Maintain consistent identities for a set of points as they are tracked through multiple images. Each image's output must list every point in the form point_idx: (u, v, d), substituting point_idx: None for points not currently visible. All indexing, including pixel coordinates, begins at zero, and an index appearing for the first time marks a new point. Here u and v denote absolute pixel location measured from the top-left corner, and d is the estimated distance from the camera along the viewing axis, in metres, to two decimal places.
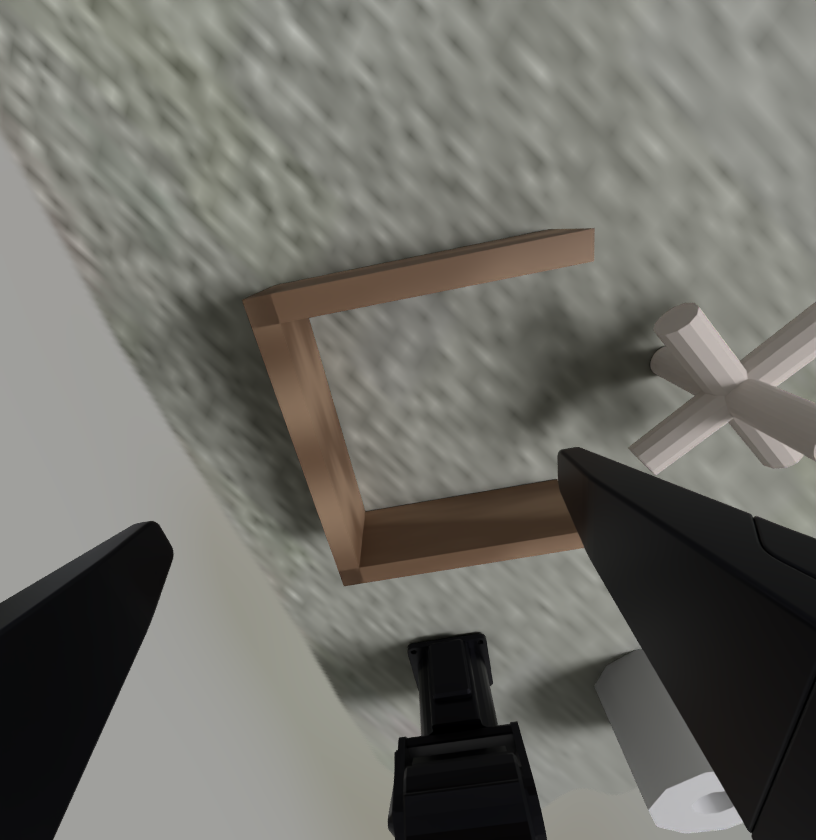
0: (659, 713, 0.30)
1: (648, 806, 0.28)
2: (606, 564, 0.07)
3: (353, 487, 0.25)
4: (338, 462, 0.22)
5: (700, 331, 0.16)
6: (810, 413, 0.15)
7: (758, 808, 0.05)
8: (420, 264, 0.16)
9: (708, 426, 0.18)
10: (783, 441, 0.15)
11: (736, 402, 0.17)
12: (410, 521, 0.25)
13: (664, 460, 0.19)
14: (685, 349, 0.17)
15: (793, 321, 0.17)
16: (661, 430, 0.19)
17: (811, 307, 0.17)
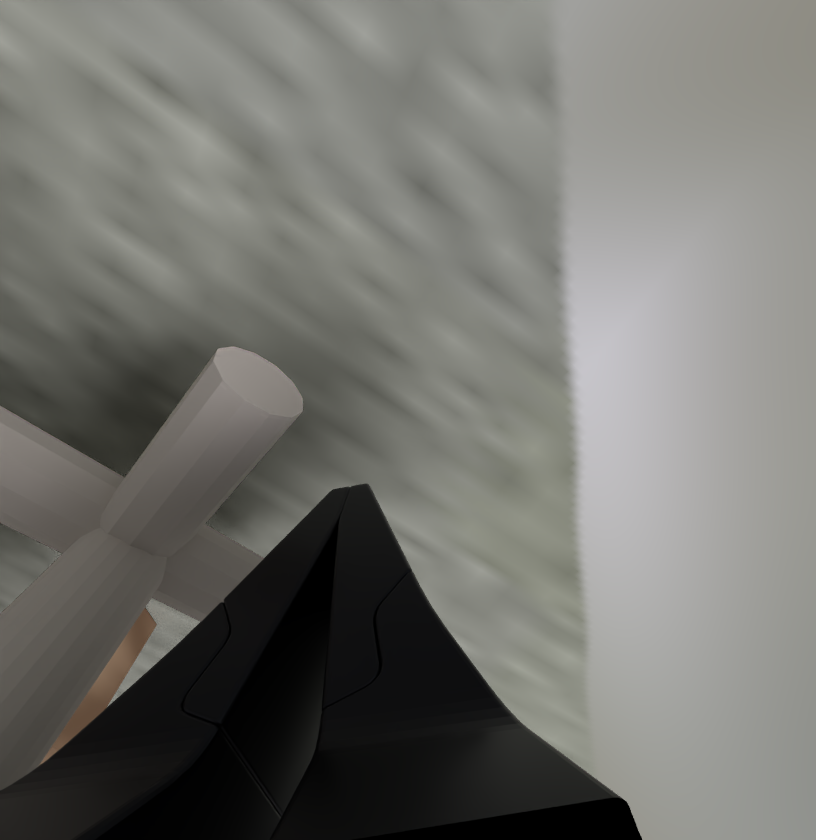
0: None
1: None
2: None
3: None
4: None
5: None
6: None
7: None
8: None
9: None
10: None
11: None
12: None
13: None
14: None
15: None
16: None
17: None
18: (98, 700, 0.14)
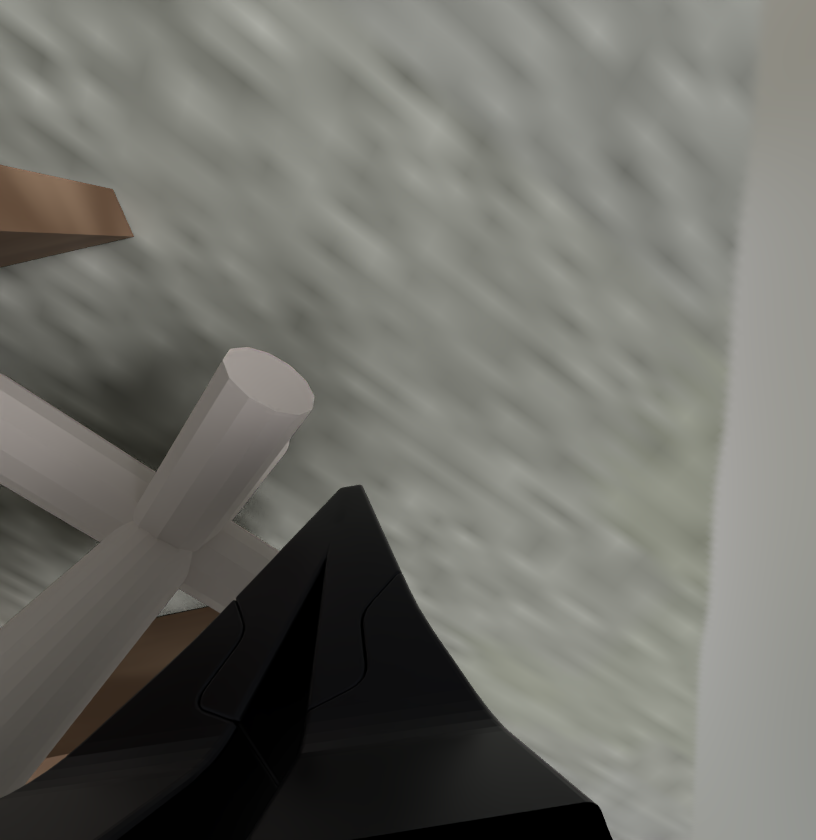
0: None
1: None
2: None
3: None
4: None
5: None
6: None
7: None
8: None
9: None
10: None
11: None
12: None
13: None
14: None
15: None
16: None
17: None
18: None
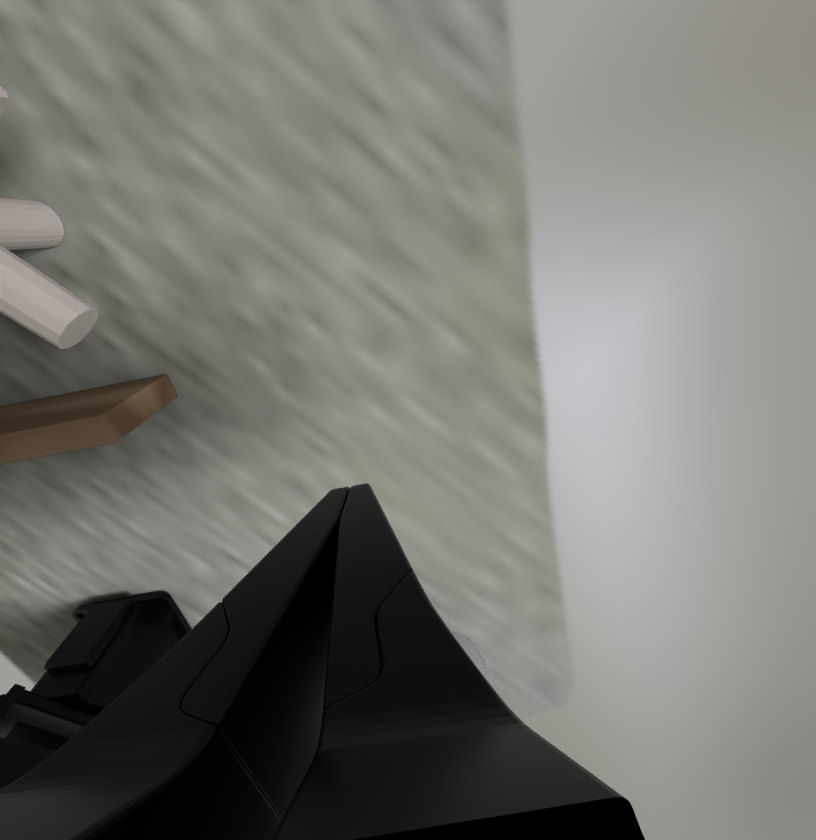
0: None
1: None
2: None
3: None
4: None
5: None
6: None
7: None
8: None
9: None
10: None
11: None
12: None
13: None
14: None
15: None
16: None
17: None
18: (133, 414, 0.17)
